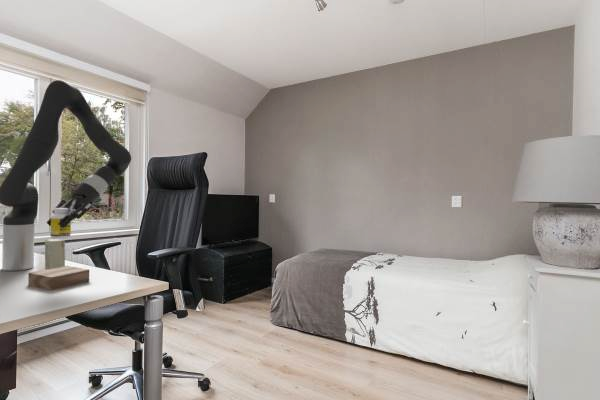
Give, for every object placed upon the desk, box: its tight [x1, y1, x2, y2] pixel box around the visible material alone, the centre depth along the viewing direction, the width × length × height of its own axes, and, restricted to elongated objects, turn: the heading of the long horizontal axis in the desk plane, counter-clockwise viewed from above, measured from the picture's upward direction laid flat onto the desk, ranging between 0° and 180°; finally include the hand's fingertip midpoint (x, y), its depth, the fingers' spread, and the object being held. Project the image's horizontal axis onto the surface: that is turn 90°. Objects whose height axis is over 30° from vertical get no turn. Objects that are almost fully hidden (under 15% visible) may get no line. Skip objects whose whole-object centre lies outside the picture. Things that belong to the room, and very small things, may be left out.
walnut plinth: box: [27, 265, 90, 291], centre depth 111 cm, size 12×12×4 cm
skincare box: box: [44, 238, 66, 270], centre depth 124 cm, size 6×4×12 cm
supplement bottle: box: [50, 207, 72, 239], centre depth 110 cm, size 5×5×10 cm
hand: (55, 225), depth 109 cm, fingers closed on supplement bottle, 5 cm apart
